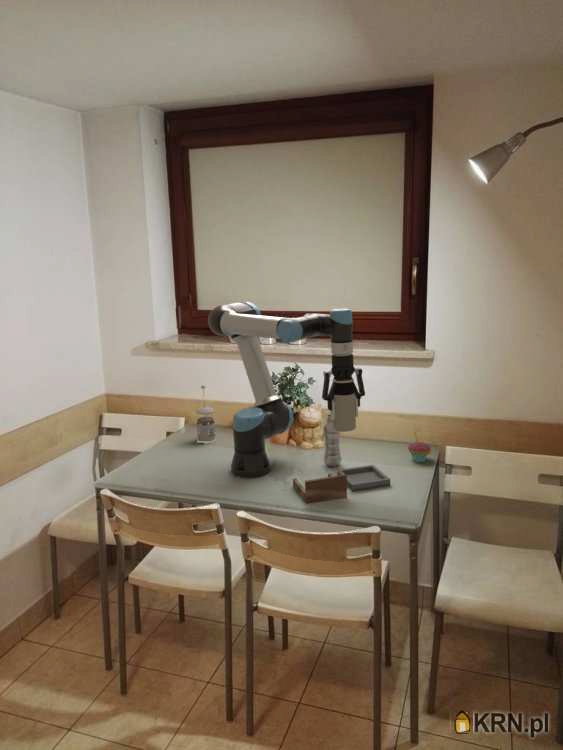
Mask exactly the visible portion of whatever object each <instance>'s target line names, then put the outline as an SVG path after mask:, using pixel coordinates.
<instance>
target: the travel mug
mask: <svg viewBox="0 0 563 750" xmlns="http://www.w3.org/2000/svg"><path fill="white" fill-rule="evenodd" d="M336 380H337V379H334V378H333V379H332V380H331V381H332V383H336V387H335V390H334V397H333V401H334V402H335V420H333V429H335V430H337V431H340V433H341V432H346V433H347V432H352V431H353V430H355V429H356V428H357V421H356V420H357V417H356V414H355V387H354V386H353V381H354V380H355V378H353V379H351V380H349V379H346V380H340V381H336ZM354 382H355V381H354Z"/></svg>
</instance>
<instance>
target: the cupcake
mask: <svg viewBox="0 0 563 750" xmlns="http://www.w3.org/2000/svg"><path fill="white" fill-rule="evenodd" d="M414 437H415V438H414V439H415V442H412V443H410V444H409V445H408V448H407V450H408V452H409V453H410V454H411V456H412V457H411V459H412V461H414V462H416V463H423V462H426V460H427V457H428V455H430V454H431V452H432V449H431V446H430V445H429V443H427V442H423V441H419V440H418V435H417V431H414Z"/></svg>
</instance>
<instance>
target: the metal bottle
mask: <svg viewBox="0 0 563 750" xmlns="http://www.w3.org/2000/svg"><path fill="white" fill-rule="evenodd" d="M322 431H323V437H324V455H323V461H324V462H323V463H324V464H325V465H326V466H328V467H336V466H337V467H338V466H339V465H340V464H341V463H342V456H341V449H340V448H341V447H340V436H341V431H337V430H335V429H333V419H331V416H330V414H327V415H326V423H325V424H324V425H323V428H322Z"/></svg>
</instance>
